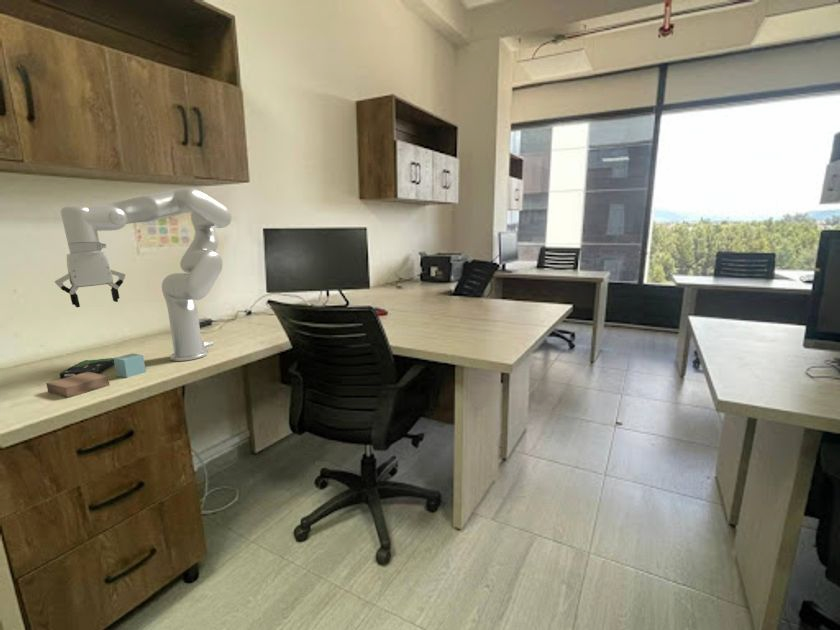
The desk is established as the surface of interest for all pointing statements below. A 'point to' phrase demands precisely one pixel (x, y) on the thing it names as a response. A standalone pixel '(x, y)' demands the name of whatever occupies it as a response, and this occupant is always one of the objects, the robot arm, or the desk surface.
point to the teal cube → (129, 365)
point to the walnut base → (77, 384)
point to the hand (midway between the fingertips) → (97, 304)
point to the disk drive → (88, 367)
